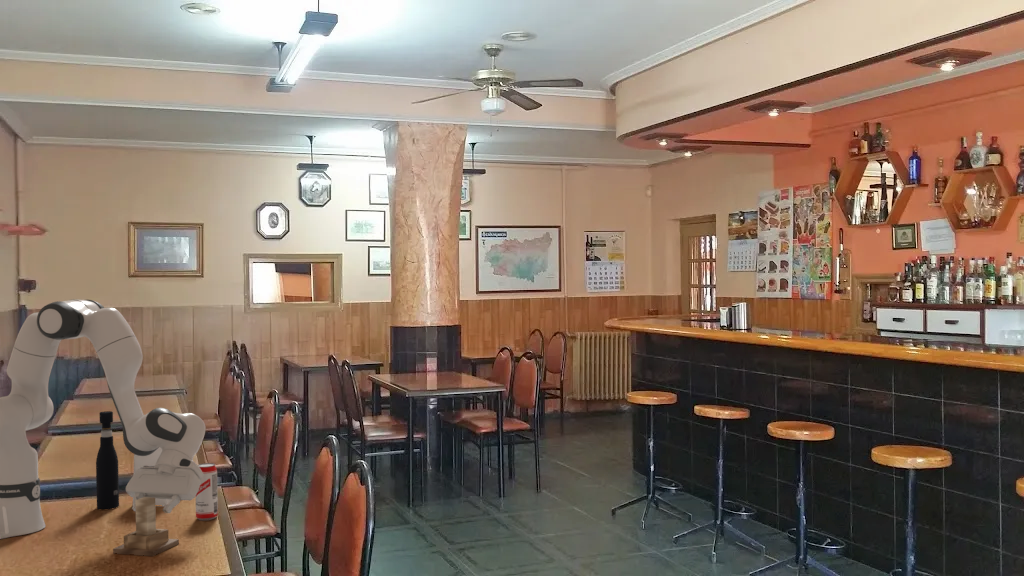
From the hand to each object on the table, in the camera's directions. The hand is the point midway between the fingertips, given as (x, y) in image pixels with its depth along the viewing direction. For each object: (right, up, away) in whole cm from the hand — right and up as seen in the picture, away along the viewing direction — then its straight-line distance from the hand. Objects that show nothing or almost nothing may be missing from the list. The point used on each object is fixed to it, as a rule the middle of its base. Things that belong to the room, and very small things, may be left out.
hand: (150, 511), depth 243 cm
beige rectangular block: (0, -8, -2) cm, 8 cm away
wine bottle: (-30, -9, +42) cm, 53 cm away
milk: (-17, -9, +50) cm, 53 cm away
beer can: (+6, -9, +28) cm, 30 cm away
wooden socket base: (0, -9, -2) cm, 10 cm away
